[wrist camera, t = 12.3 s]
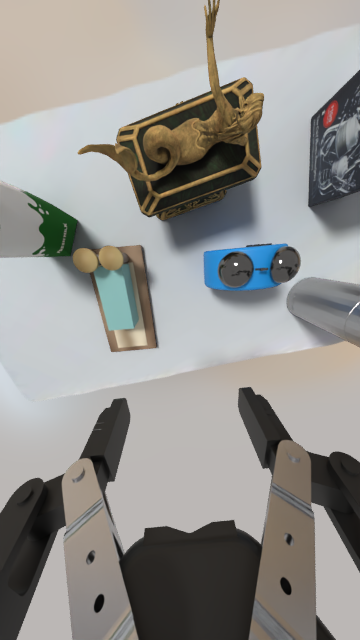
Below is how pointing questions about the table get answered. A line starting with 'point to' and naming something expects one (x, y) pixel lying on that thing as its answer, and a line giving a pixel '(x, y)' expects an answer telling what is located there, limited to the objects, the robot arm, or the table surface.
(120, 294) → the teal rectangular prism
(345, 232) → the table surface
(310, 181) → the small box
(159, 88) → the table surface
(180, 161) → the decorative box
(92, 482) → the robot arm
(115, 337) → the board
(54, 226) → the milk carton
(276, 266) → the alarm clock
